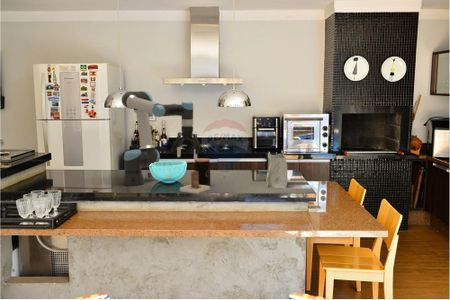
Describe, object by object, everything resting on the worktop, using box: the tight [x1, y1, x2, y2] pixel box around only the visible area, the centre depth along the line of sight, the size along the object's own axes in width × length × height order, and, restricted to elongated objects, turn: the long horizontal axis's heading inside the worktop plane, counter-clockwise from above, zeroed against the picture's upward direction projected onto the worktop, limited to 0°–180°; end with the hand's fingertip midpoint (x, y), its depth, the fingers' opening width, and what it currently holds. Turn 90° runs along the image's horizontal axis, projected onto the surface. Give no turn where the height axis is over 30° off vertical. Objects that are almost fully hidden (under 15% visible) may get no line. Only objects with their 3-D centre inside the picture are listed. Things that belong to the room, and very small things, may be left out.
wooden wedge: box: [190, 170, 199, 189], centre depth 285 cm, size 3×5×12 cm, turn 148°
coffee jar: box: [194, 157, 211, 186], centre depth 301 cm, size 11×11×18 cm
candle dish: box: [179, 184, 211, 195], centre depth 286 cm, size 14×14×3 cm
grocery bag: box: [265, 149, 288, 189], centre depth 307 cm, size 32×14×23 cm, turn 177°
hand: (187, 158), depth 289 cm, fingers open, 13 cm apart
